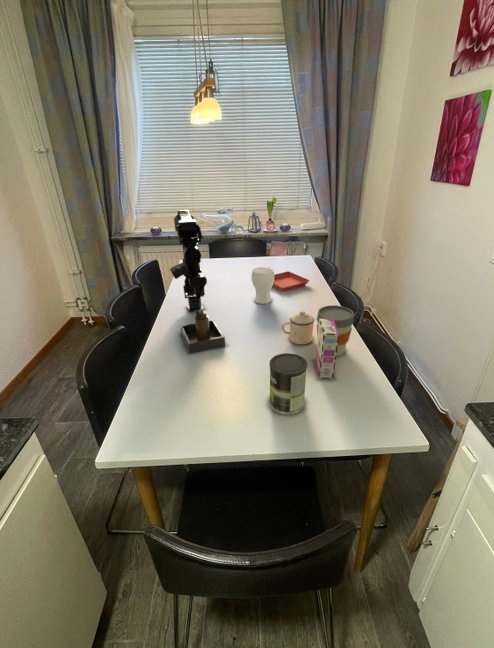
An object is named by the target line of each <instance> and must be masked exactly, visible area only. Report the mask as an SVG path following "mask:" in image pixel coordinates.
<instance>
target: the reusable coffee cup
mask: <svg viewBox="0 0 494 648" xmlns="http://www.w3.org/2000/svg"><path fill="white" fill-rule="evenodd" d="M316 315H317V316H316V321H317V324H316V337H317V338H318V329H319V319H334V322H335V324H336V327H337V330H338V333H339V340H338V347H337V354H336V357H339V356H342V355H343V354H344V353H345V350H346V346H347V343H349V340H350V337H351V333H352V329H353V328H352V326H353V324H354V321H355V319H354V317H355V313H354V311H353V310H352V309H351V308H349V307H346V306H342V305H335V304H334V305H325V306H322V307H320V308H319V309H318V311H317V314H316Z"/></svg>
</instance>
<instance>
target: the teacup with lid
mask: <svg viewBox="0 0 494 648" xmlns="http://www.w3.org/2000/svg"><path fill="white" fill-rule="evenodd" d="M314 322H315V317H314V316H313V315H312V314H310V313H307V312H306V311H305V310H300V311H299V312H296V313H293V314H292V315H290V317H289V321H285V322H284V323H283V324H282V325H281V331H282V332H283V333H284V334H286V335H289V340H290V341H291V342H292V343H293V344H296V345H307V344H310V343H311V342H312V341H313V333H314ZM286 325H289V331H286V330H285V326H286Z"/></svg>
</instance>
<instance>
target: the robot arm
mask: <svg viewBox="0 0 494 648" xmlns="http://www.w3.org/2000/svg"><path fill="white" fill-rule="evenodd" d="M173 223H174V231H175V232H176V234H177V237H178V242H179V244H180V245H181V247H182V253H183V258H182V262H180V263H177V264H175V265H174V266H172V267H170V268H169V271H170V272H171V274H172V277H173V278H174V279H175V280H178V279H179V278H180V277H182V276H183V277H185V279H184V280H183V281H184V282H183V283H184V285H182V287H183V295H184V299H185V300H186V299H187V303H188V305H187V306H186V307H187V309H188V311H189V313H193V312H198V311H199V310H200V309H202V310H203V311H205V307H203V304H202V298H203V297H205V296H206V293H205V292H206V291H205V286H206V285H208V279H207V277H206V276H205V274H203V271H202V268H201V264H200V263H202V261H201V260H202V253H201V251H200V248H199V243H202V240H203V235H202V229H201V226H200V225H199V224H198V223H197V220H195V217H194V216H193V214H191V210H189V209H183V210H178V211H177V214H176V215H175V216H174V218H173ZM201 297H202V298H201Z"/></svg>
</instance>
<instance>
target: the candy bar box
mask: <svg viewBox="0 0 494 648" xmlns="http://www.w3.org/2000/svg"><path fill="white" fill-rule="evenodd" d="M316 340H317V341H316V349H315V366H316V371H317V376H318V379H323V380H324V379H326V380H333V379H334V375H335V369H336V360H337V356H336V354H337V347H338V340H339V333H338V330H337V327H336V324H335V322H334V319H319V329H318V337H317V339H316Z"/></svg>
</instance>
